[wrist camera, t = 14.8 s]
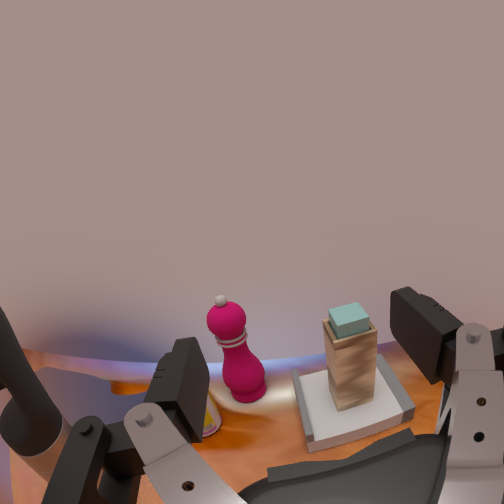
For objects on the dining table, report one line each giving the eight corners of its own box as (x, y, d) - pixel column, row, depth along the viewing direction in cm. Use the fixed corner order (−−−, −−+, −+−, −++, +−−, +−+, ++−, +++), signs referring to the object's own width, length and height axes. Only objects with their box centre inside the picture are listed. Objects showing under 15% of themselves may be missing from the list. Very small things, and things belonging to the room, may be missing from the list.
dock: (308, 452, 31) (305, 435, 29) (294, 389, 44) (290, 369, 43) (412, 418, 30) (417, 398, 29) (379, 365, 44) (380, 344, 42)
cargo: (338, 346, 31) (337, 325, 30) (330, 328, 35) (328, 309, 34) (369, 337, 31) (369, 316, 30) (358, 321, 35) (357, 301, 34)
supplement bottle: (196, 407, 44) (170, 354, 40) (228, 414, 41) (205, 359, 38) (178, 433, 38) (145, 380, 34) (212, 443, 35) (182, 390, 32)
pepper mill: (257, 372, 51) (231, 280, 45) (276, 392, 44) (251, 294, 39) (224, 388, 48) (190, 296, 42) (239, 411, 42) (203, 313, 36)
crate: (337, 412, 34) (334, 343, 30) (328, 387, 39) (322, 319, 35) (373, 400, 33) (377, 330, 30) (361, 378, 39) (360, 309, 35)
